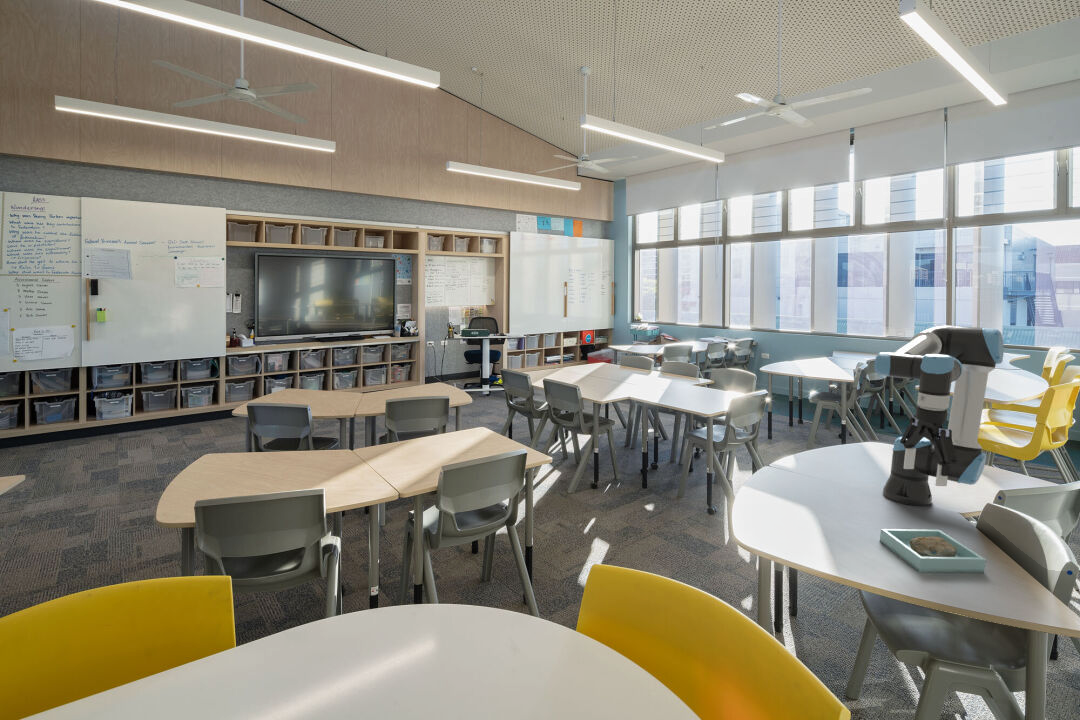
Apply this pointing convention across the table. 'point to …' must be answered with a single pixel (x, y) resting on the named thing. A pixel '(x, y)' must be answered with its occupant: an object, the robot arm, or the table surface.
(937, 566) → the tray
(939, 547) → the rock
